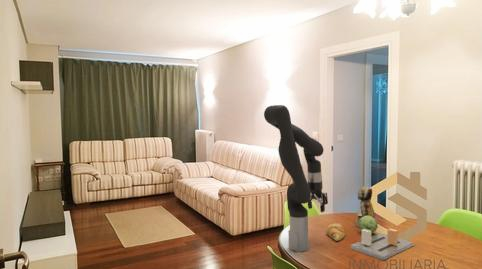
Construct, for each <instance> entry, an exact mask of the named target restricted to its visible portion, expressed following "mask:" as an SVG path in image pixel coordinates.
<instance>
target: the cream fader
mask: <svg viewBox="0 0 482 269" xmlns="http://www.w3.org/2000/svg"><path fill="white" fill-rule="evenodd" d="M360 230H361V229H360ZM371 237H372V234H371V231H370V230H367V229H362V230H361V241H362V244H365V245H368V246H369V245H371Z"/></svg>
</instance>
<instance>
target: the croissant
mask: <svg viewBox="0 0 482 269" xmlns="http://www.w3.org/2000/svg"><path fill="white" fill-rule="evenodd" d="M325 232H326V233H325V234H326V235H327V236H329V237H330V238H331V239H333V240H334V241H336V242H339V241H341V240H343V238H344V237H345V236H346V232H345V228H344V226H343V225H342V224H341V223H338V222H334V223H331V224H329V225H328V226H327V227H326V228H325Z"/></svg>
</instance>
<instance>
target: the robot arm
mask: <svg viewBox="0 0 482 269" xmlns="http://www.w3.org/2000/svg"><path fill="white" fill-rule="evenodd" d="M263 116H264V117H263V118H264V120H265V121H266V122H267V123H268V124H269V125H271V126H272V127H274V128H276V129H278V130H279V134H280V139H279V146H278V150H277V152H278V157H279V158H280V162H281V164H282V166H283V168H284V169H285V171H286V172H287V174H288V175H289V176H290V177H291V180H292V181H293V183H290V184H289V185H288V186H287V189H286V203H287V210H288V212H289V214H288V215H289V230H288V249H289V250H291V249H292V251H294V252H296V253H299V252H306V251H308V250H309V244H310V242H309V215H308V214H309V212H308V210H309V209H310V210H311V209H312V208H313V200H315V201H317V202H318V203H319V205H320V206H319V207H320V208H319V210H320V213H324V212H325V211H326V210H325V209H326V206H325V205H328V204H329V201H328V200H329V199H328V193H327V192H323V191H322V190H323V174H322V163H321V161H320V160H318V159H316V157H320V156H322V155H323V154H324V147H323V144H322V143H320V142H319V141H317V140H316V139H314V138H313V137H311V136H310V135H308V133H307V132H306V131H304V130H303V129H302V128H301V127H299V126H297V125H295V124H293V123H292V119H291V114H290V111H289V109H288V107H287V106H285V105H284V104H279V105H278V104H276V105H269V106H267V107H266V108H265V109H264V112H263ZM297 146H298V147H300V148H302V149H303V155H304V158H305V162H306V166H307V167H306V168H307V178H306V176H305V173H304V169H303V166H302V162H301V159H300V154H299V150H298V147H297ZM304 204H307V207H308V209H307V208H306V207H305V206H304Z"/></svg>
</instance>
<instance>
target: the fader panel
mask: <svg viewBox="0 0 482 269" xmlns="http://www.w3.org/2000/svg"><path fill="white" fill-rule="evenodd" d="M413 246H414V242H412V241H409V240H406V239H402V238H399V237H398V244H397V245H392V244H389V243H388V237H387V234H384V233H382V232H380V233H377V234H374V235H371V245H369V246H368V245H365V244H362V240H360V241H357V242H355V243H353V244H350V250H353V251H356V252H358V253H361V254H365V255H367V256H370V257H373V258H375V259H378V260H381V261H385V259H386V260H387V258H388V259H390V258H392V257H393V255H394V256H396V255H397V253H398V254H400V253H402V252H403V251H406V250H408V249H411V248H412V247H413ZM395 254H396V255H395ZM391 256H392V257H391ZM389 257H390V258H389Z"/></svg>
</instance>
